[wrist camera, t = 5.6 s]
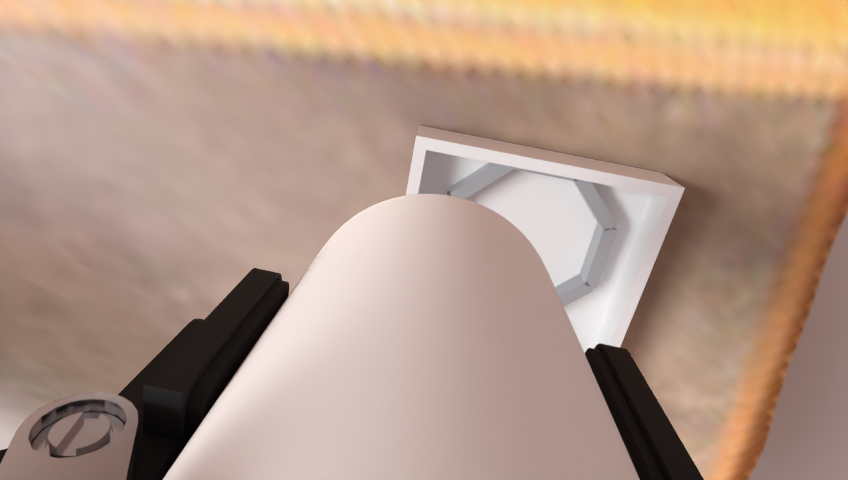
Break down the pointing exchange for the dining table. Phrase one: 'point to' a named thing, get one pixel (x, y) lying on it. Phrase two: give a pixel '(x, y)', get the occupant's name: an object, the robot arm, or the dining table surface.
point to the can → (414, 364)
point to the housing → (562, 218)
